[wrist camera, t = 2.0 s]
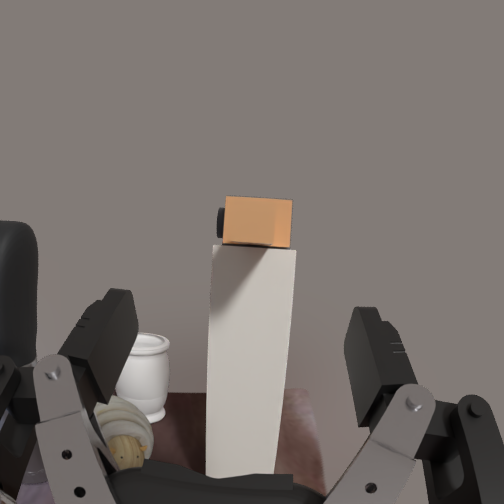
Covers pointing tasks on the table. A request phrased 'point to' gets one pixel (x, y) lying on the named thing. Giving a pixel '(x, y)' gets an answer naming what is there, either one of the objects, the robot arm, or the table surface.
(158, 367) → the jar
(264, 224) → the tan piece
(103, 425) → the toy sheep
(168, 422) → the table surface
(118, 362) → the robot arm
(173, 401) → the table surface
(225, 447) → the pedestal
